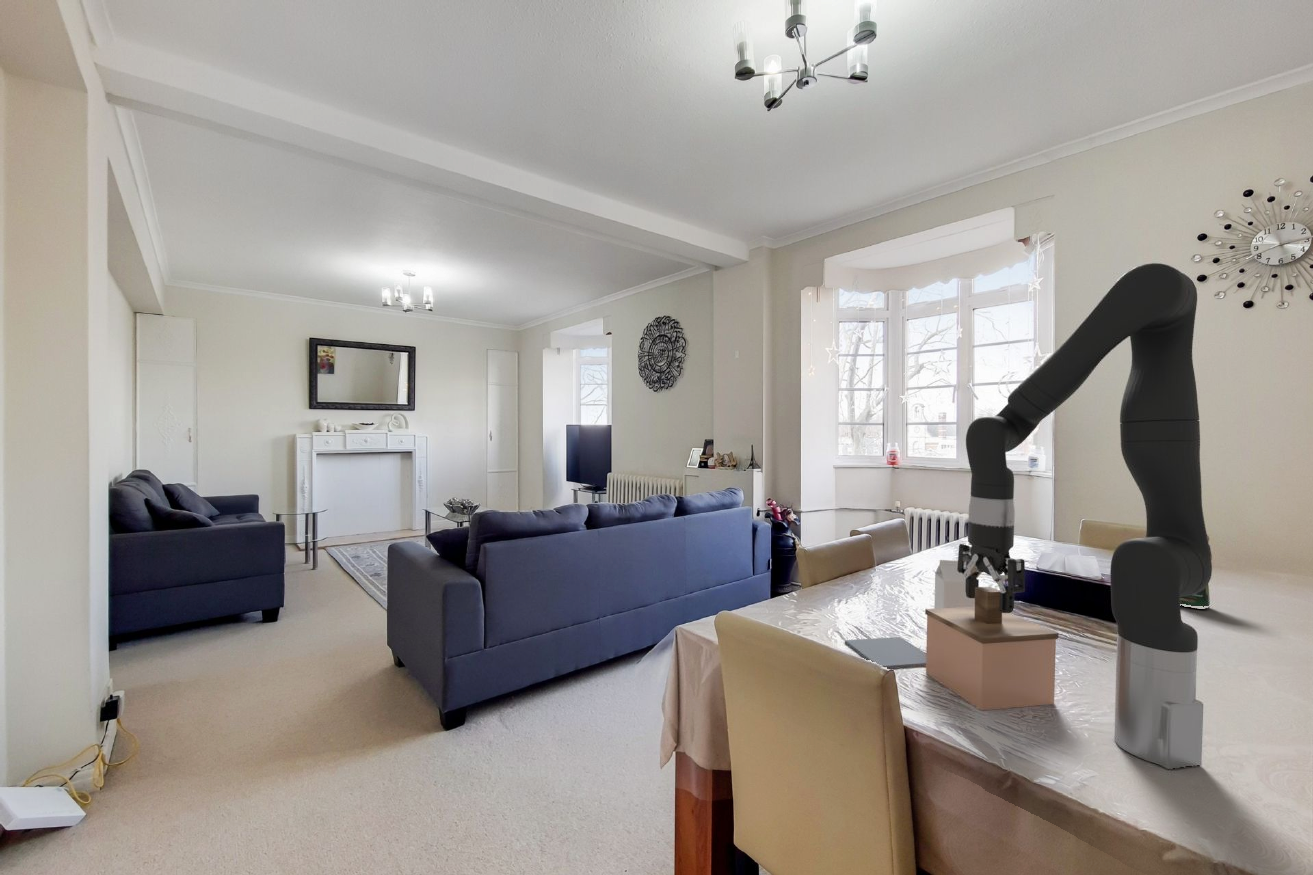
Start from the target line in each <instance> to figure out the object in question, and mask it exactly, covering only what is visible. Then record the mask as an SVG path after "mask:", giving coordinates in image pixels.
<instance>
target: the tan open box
mask: <svg viewBox="0 0 1313 875" xmlns="http://www.w3.org/2000/svg"><path fill="white" fill-rule="evenodd" d="M1056 644H1057V639H1048V640H1032V641H1017V642H1002V643H986V644H982V643H980V642H978V641H976V640H974V639H972V638H970V637H969V636H967V635H965V634H963V633H961V632H959V631H957V630H955V629H953V628H951V627H949V626H947V625H945V624H944V623H942V622H940V621H938V620H936V619H934V618H932V617H930V616H928V615H926V648H925V649H926V650H925V653H926V666H925V674H927V675H928V676H930V677H931V678H933V679H934V680H936V681H937V682H939V683H940V684H941V685H943V686H945V687H946V688H947V689H949V690H951V691H952V692H953V693H954V694H957V695H958V696H959V697H961V698H962V699H964V700H965V701H967V702H968V703H970V704H971V705H972V706H974V707H975V708H977V709H978V710H980V711H989V710H1001V709H1012V708H1013V709H1014V708H1021V707H1033V706H1036V707H1037V706H1045V705H1046V706H1047V705H1055V684H1056V683H1055V682H1056V680H1055V679H1056V655H1057V654H1056V653H1057V652H1056V651H1057V650H1056V648H1057V645H1056Z"/></svg>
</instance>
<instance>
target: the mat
mask: <svg viewBox="0 0 1313 875" xmlns="http://www.w3.org/2000/svg"><path fill="white" fill-rule="evenodd" d="M844 644H846V646H848V647H849V648H851V649H852V650H854V651H855V652H856V653H857V654H859V655H860V656H861V657H862V658H864V659H865V658H866V659H865V660H867V659H868V660H871V661H872V662H876V663H877V664H879V665H882V666H883V667H887V668H889V669H901V668H914V667H915V668H916V667H926V651H924V650H922V649H920V648H918V646H915V645H914V644H912V643H911V642H909V641H907V640H906V639H904V638H902V637H901V636H892V637H877V638H860V639H845V640H844ZM868 660H867V661H868Z"/></svg>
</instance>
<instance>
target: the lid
mask: <svg viewBox="0 0 1313 875" xmlns="http://www.w3.org/2000/svg"><path fill="white" fill-rule="evenodd" d="M1000 592H1001V591H1000V589H997V588H994V587H991V586H979V587H975V607H957V608H938V609H934V608H925V611H924V612H925V613H924V614H925V615H926V616H927V615H928V616H930V617H932V618H934V619H936V620H938V621H940V622H942V623H944V624H945V625H947V626H949V627H951V628H953V629H955V630H957V631H959V632H961V633H963V634H965V635H967V636H969V637H970V638H972V639H974V640H976V641H978V642H980V643H982V644H986V643H1002V642H1017V641H1032V640H1048V639H1056V640H1058V639H1059V632H1057V631H1053V630H1052V629H1049V628H1047V627H1044V626H1042V625H1040V624H1038V623H1035V622H1033V621H1030V620H1028V619H1025V618H1023V617H1020V616H1018V615H1016V614H1013V613H1012V612H1011V613H1002V612H1000V611H999V599H1000Z"/></svg>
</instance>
